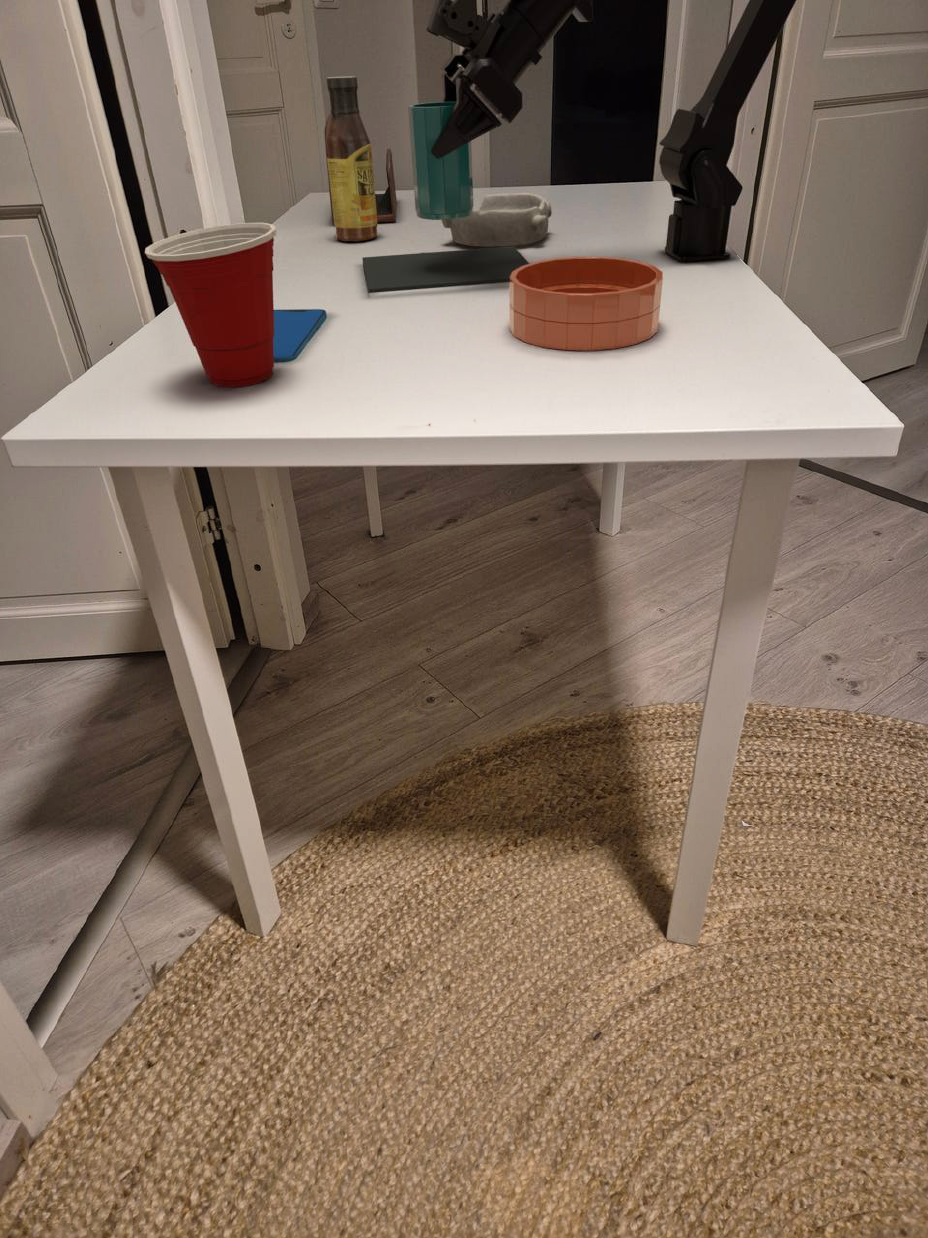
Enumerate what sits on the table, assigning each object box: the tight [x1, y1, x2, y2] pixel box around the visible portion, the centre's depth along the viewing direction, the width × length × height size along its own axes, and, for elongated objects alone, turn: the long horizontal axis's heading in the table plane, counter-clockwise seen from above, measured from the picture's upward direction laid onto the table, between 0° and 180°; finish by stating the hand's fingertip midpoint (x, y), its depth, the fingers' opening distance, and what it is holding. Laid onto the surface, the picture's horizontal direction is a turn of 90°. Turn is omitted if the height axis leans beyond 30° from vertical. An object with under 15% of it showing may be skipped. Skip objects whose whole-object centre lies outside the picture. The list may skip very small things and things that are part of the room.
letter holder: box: [323, 113, 398, 227], centre depth 133 cm, size 10×20×14 cm, turn 3°
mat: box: [361, 245, 530, 298], centre depth 101 cm, size 20×16×1 cm
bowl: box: [508, 256, 664, 352], centre depth 79 cm, size 14×14×6 cm
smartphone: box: [273, 308, 328, 363], centre depth 84 cm, size 7×1×15 cm
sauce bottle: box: [326, 75, 378, 242], centre depth 115 cm, size 6×6×20 cm
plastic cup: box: [144, 222, 277, 388], centre depth 71 cm, size 11×11×12 cm
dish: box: [441, 192, 553, 248], centre depth 115 cm, size 14×14×5 cm
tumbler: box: [407, 101, 474, 221], centre depth 94 cm, size 7×7×11 cm
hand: (429, 151), depth 93 cm, fingers closed on tumbler, 7 cm apart
